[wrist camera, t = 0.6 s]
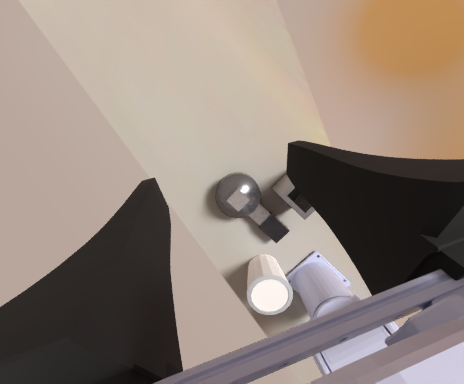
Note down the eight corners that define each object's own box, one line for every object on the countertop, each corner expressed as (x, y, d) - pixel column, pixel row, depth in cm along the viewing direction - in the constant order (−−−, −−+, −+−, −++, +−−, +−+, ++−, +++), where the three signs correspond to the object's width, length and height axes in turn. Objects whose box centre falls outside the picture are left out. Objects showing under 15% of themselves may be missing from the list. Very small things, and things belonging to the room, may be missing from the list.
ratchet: (294, 218, 33) (305, 229, 28) (266, 245, 34) (271, 261, 30) (236, 163, 32) (237, 165, 27) (208, 194, 33) (203, 201, 28)
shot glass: (246, 249, 35) (249, 273, 28) (284, 252, 35) (296, 277, 28) (242, 283, 36) (244, 314, 29) (279, 286, 36) (290, 317, 29)
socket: (314, 186, 32) (331, 194, 26) (292, 207, 33) (304, 219, 27) (293, 166, 31) (306, 169, 26) (271, 188, 32) (279, 195, 26)
